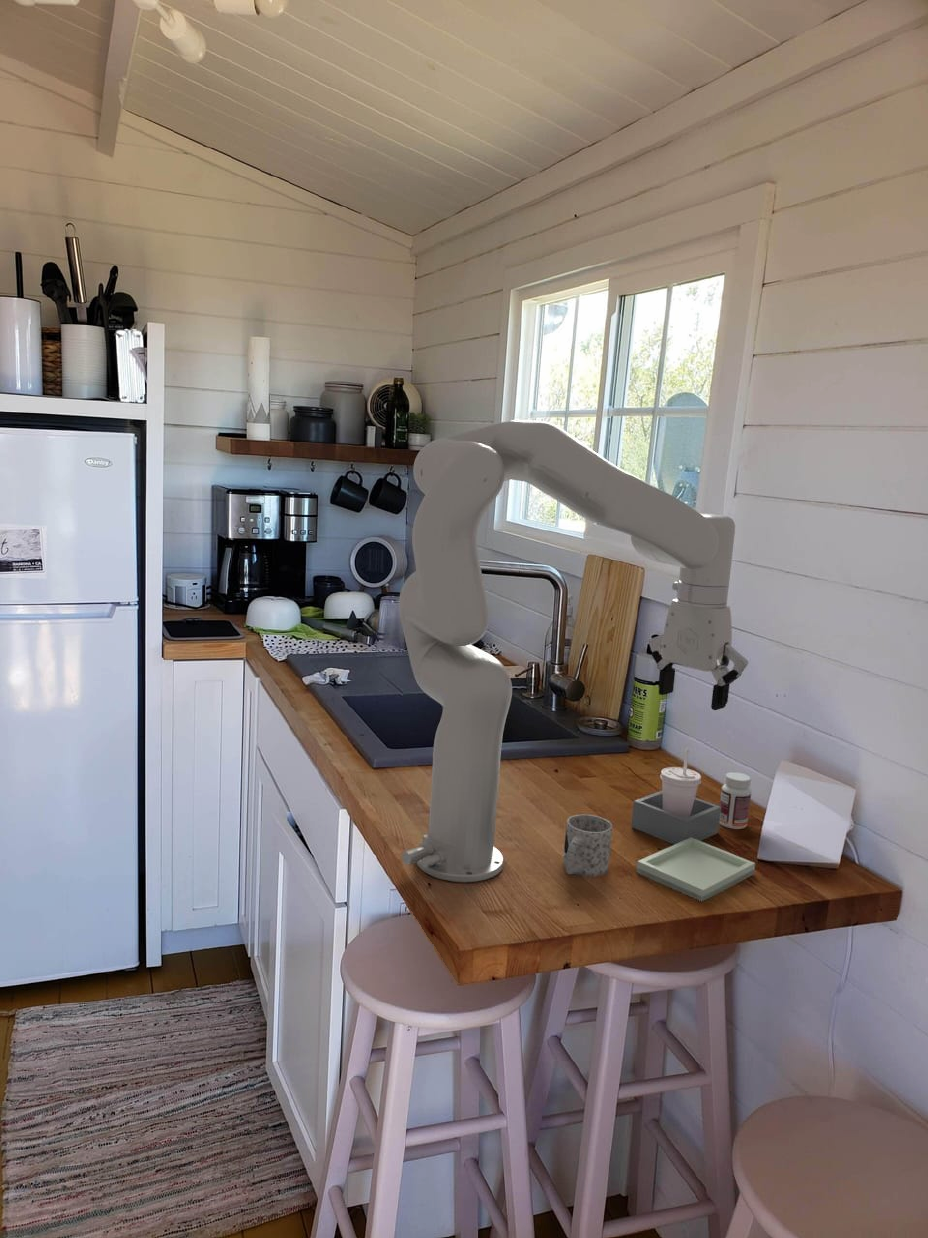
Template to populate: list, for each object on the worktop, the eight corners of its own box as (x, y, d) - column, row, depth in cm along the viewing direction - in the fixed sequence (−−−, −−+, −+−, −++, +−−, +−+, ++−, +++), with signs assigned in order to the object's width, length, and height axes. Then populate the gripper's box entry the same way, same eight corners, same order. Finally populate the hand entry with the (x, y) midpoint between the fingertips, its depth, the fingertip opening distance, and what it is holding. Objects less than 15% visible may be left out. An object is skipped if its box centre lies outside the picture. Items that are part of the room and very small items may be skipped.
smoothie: (684, 842, 152) (694, 757, 149) (647, 829, 155) (656, 747, 153) (701, 830, 157) (711, 748, 154) (665, 818, 160) (674, 738, 158)
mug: (573, 852, 145) (577, 810, 144) (615, 864, 142) (619, 822, 141) (545, 876, 137) (549, 832, 135) (588, 890, 134) (592, 845, 132)
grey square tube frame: (683, 848, 149) (686, 821, 148) (631, 826, 156) (633, 800, 155) (717, 833, 156) (721, 807, 155) (666, 812, 163) (669, 787, 162)
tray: (701, 902, 132) (703, 890, 132) (636, 872, 140) (637, 861, 139) (753, 874, 142) (755, 863, 141) (689, 848, 149) (691, 837, 149)
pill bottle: (749, 822, 161) (755, 775, 160) (744, 832, 157) (750, 783, 155) (720, 815, 163) (726, 769, 162) (715, 825, 159) (721, 777, 157)
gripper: (642, 587, 152) (632, 691, 155) (739, 606, 140) (727, 719, 143) (669, 583, 157) (659, 684, 160) (765, 601, 145) (752, 710, 148)
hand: (691, 700), depth 152 cm, fingers open, 9 cm apart
